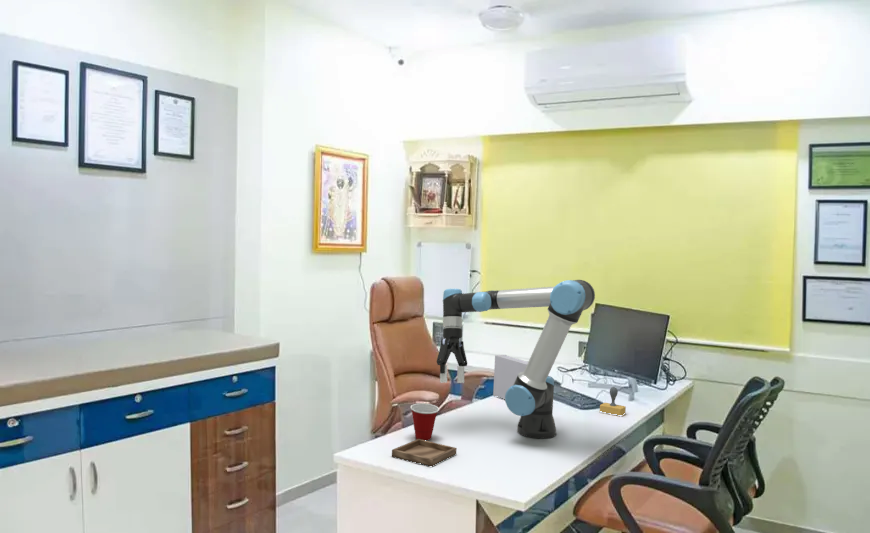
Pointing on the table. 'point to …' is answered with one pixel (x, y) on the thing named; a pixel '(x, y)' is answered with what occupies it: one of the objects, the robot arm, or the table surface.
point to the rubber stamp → (613, 404)
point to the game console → (506, 373)
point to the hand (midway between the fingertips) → (452, 382)
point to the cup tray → (424, 452)
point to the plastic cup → (424, 419)
